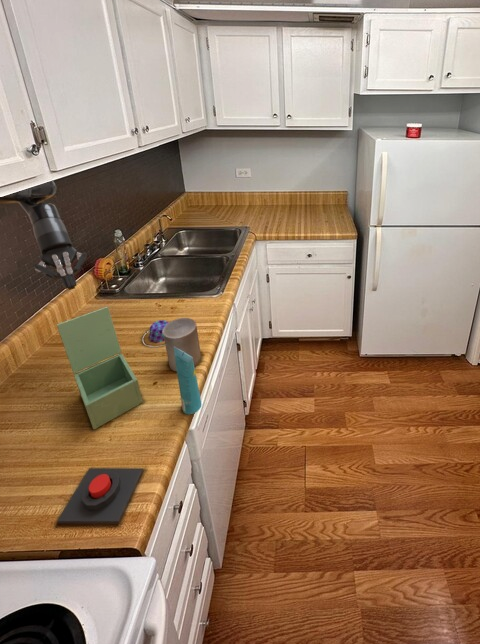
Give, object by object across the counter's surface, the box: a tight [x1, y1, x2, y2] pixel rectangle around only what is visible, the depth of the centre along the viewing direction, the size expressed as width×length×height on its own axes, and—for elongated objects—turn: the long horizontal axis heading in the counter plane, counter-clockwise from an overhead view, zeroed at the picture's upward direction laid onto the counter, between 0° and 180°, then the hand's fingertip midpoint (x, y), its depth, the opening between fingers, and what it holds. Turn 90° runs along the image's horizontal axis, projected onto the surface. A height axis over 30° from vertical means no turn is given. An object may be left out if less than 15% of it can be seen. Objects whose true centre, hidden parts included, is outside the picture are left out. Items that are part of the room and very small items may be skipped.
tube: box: [174, 347, 202, 415], centre depth 87 cm, size 7×5×19 cm, turn 63°
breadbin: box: [73, 352, 144, 431], centre depth 90 cm, size 14×12×9 cm
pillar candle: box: [162, 317, 202, 372], centre depth 103 cm, size 10×10×15 cm
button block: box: [56, 467, 144, 525], centre depth 69 cm, size 12×10×4 cm
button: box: [89, 474, 111, 498], centre depth 68 cm, size 4×4×2 cm
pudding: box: [142, 319, 169, 348], centre depth 116 cm, size 12×12×5 cm
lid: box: [56, 306, 122, 374], centre depth 91 cm, size 15×12×1 cm
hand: (71, 288), depth 94 cm, fingers closed
